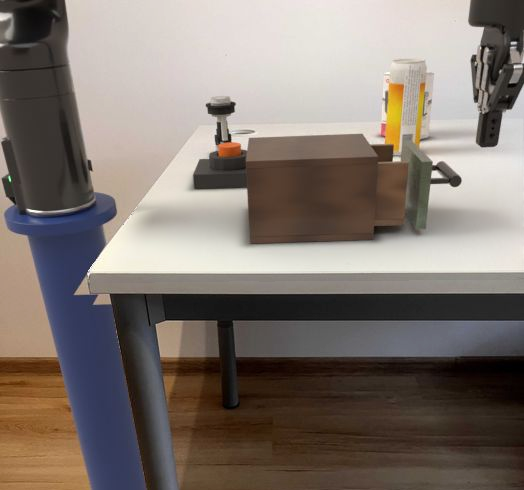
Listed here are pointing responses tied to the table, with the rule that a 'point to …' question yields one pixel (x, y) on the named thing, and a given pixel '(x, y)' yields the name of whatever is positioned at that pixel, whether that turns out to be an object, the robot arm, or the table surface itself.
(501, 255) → the table surface
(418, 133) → the beer can
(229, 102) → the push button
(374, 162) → the cabinet
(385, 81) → the ink box
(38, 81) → the robot arm
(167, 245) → the table surface
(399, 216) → the drawer
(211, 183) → the control box
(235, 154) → the button
